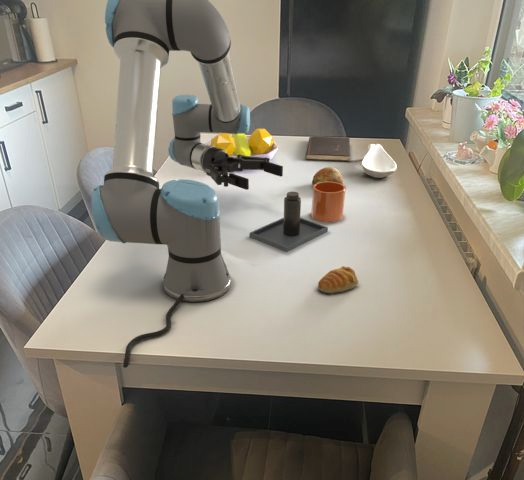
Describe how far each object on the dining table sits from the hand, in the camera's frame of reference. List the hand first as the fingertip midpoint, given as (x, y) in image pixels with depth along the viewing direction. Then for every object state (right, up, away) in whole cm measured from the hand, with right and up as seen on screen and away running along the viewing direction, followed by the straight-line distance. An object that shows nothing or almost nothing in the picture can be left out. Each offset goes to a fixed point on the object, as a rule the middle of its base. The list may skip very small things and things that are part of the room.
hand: (265, 177), depth 145 cm
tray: (+6, -15, +2) cm, 17 cm away
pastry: (+17, -32, -20) cm, 41 cm away
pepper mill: (+7, -14, +2) cm, 16 cm away
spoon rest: (+39, +17, +46) cm, 63 cm away
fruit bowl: (-8, +23, +53) cm, 59 cm away
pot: (+18, -8, +12) cm, 23 cm away
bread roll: (+20, +7, +32) cm, 39 cm away
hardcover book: (+24, +30, +63) cm, 74 cm away
